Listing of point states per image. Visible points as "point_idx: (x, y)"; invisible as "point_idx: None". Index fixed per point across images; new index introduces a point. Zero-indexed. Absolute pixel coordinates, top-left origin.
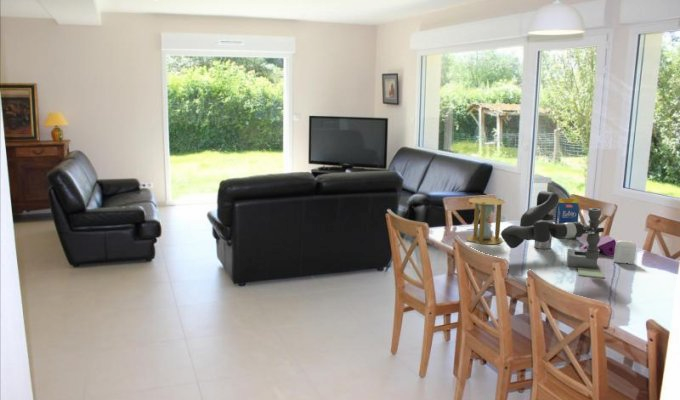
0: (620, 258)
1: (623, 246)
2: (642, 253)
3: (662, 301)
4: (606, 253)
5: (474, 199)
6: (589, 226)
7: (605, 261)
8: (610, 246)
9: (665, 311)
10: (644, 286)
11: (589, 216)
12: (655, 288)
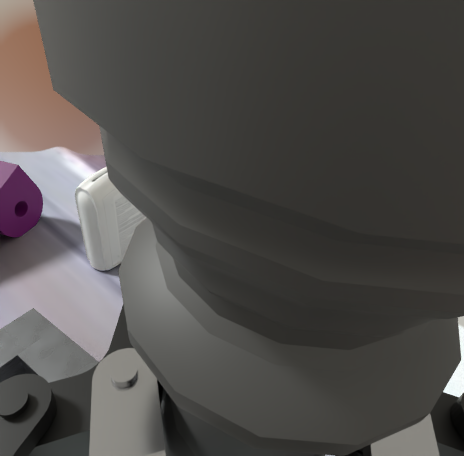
0: (121, 247)
1: (121, 198)
2: (83, 163)
3: None
4: (14, 232)
5: None
6: (158, 406)
7: (70, 292)
8: (16, 200)
9: None
10: (443, 390)
11: (346, 256)
12: (460, 364)
